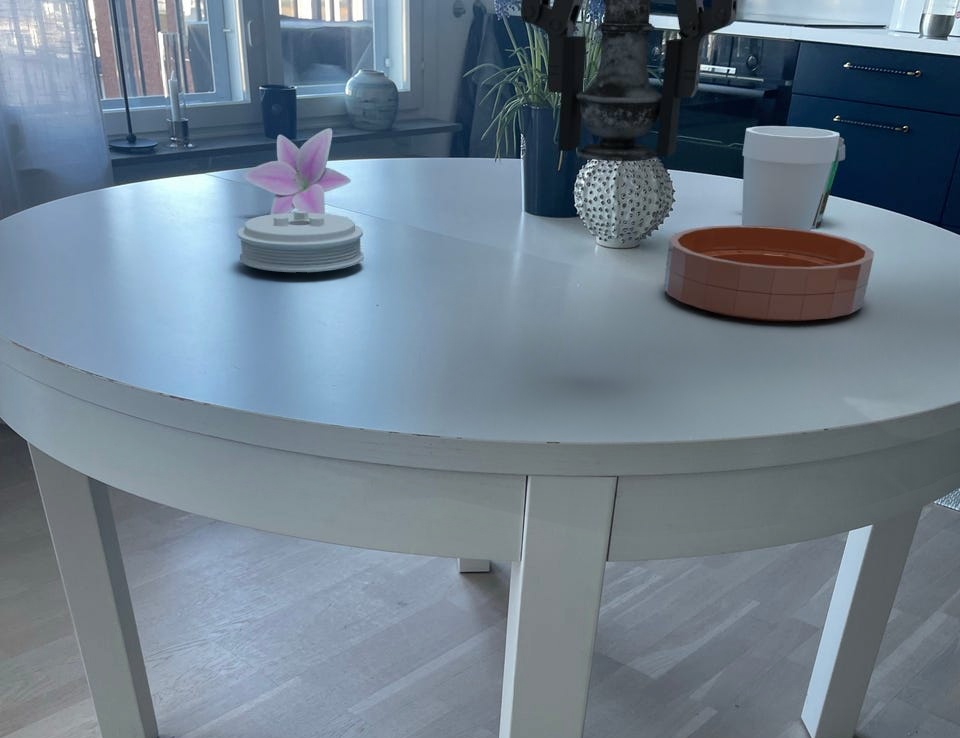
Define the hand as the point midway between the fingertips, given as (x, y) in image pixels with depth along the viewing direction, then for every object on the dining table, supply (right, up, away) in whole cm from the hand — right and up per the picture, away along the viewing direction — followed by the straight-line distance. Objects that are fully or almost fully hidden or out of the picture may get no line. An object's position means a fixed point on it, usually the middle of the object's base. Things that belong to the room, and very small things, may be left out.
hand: (616, 150), depth 68 cm
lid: (-28, +6, +38) cm, 47 cm away
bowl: (+18, 0, +30) cm, 35 cm away
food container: (+32, +22, +65) cm, 75 cm away
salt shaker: (0, 0, 0) cm, 0 cm away
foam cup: (+23, +8, +43) cm, 50 cm away
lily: (-31, +19, +58) cm, 69 cm away
